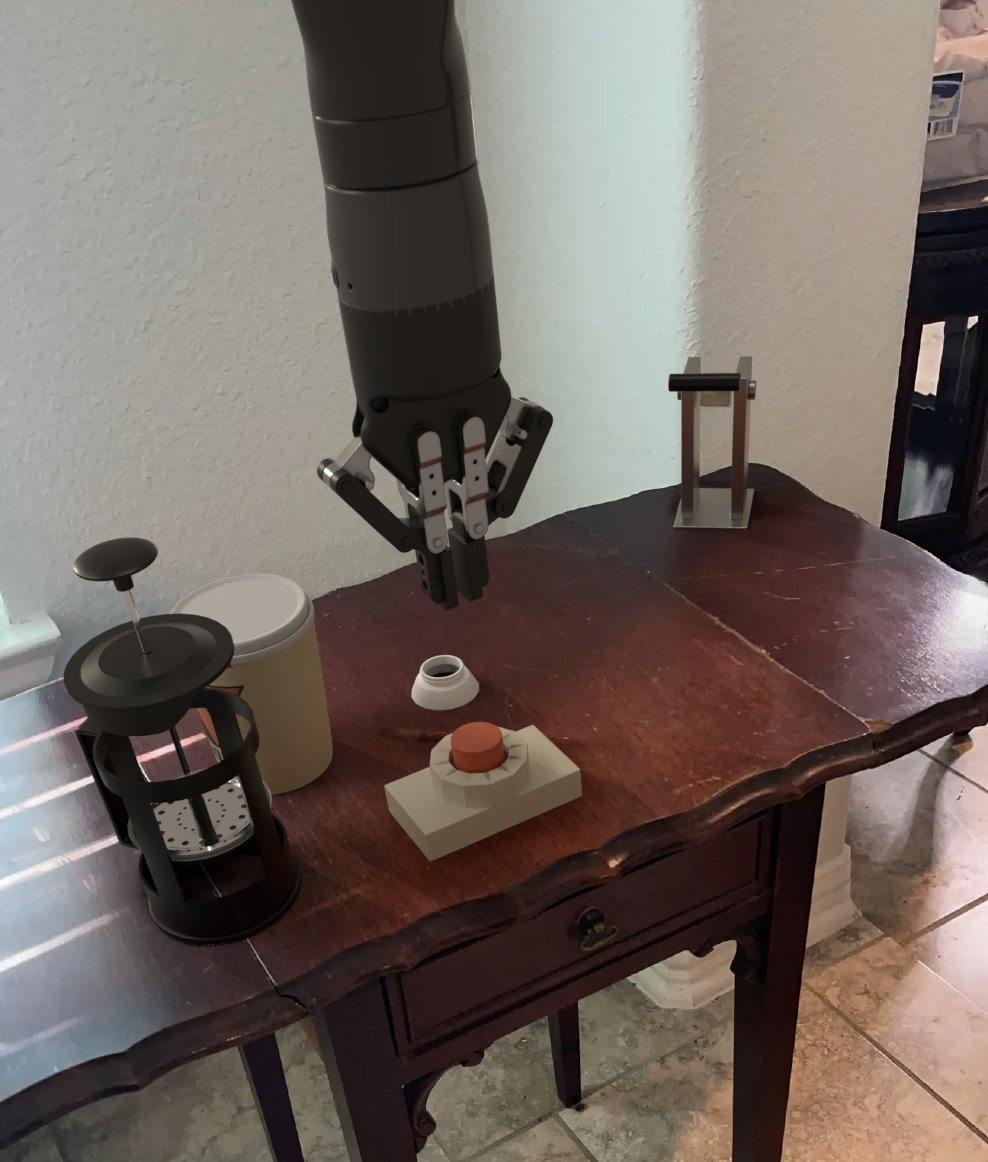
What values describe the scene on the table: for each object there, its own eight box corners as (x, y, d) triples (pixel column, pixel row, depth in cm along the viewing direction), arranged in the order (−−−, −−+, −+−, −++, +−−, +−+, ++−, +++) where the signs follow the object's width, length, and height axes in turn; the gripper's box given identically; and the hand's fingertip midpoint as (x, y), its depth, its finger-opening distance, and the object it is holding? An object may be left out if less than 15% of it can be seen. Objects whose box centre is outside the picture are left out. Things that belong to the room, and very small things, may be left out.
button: (489, 738, 81) (486, 715, 79) (514, 762, 78) (511, 739, 77) (445, 756, 80) (441, 733, 79) (468, 781, 78) (465, 758, 76)
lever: (738, 399, 89) (740, 362, 88) (667, 400, 90) (669, 363, 90) (749, 407, 100) (751, 374, 99) (685, 407, 101) (687, 375, 101)
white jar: (465, 674, 93) (402, 695, 92) (461, 640, 91) (396, 660, 90) (492, 708, 89) (427, 730, 88) (488, 672, 87) (421, 694, 86)
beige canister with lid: (189, 756, 89) (140, 606, 81) (307, 705, 92) (271, 555, 84) (245, 822, 83) (198, 666, 75) (369, 765, 86) (337, 609, 78)
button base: (535, 750, 85) (530, 701, 83) (582, 796, 81) (579, 746, 78) (388, 811, 82) (378, 762, 79) (430, 862, 78) (421, 812, 75)
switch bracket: (746, 541, 103) (752, 384, 95) (673, 539, 105) (672, 385, 96) (754, 501, 108) (760, 349, 100) (683, 500, 110) (683, 350, 101)
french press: (338, 859, 79) (254, 517, 63) (262, 963, 73) (148, 613, 57) (182, 825, 83) (67, 496, 68) (97, 921, 77) (-51, 584, 61)
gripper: (313, 332, 55) (377, 668, 67) (577, 257, 59) (594, 587, 71) (253, 291, 60) (322, 610, 72) (500, 225, 64) (528, 537, 76)
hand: (457, 598), depth 71 cm, fingers closed
